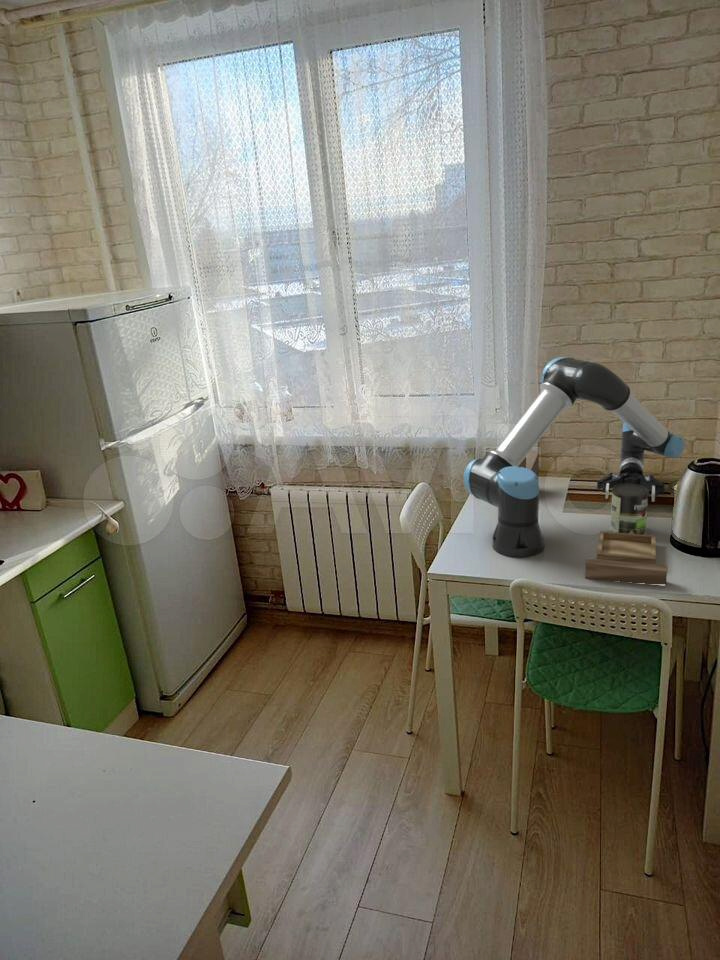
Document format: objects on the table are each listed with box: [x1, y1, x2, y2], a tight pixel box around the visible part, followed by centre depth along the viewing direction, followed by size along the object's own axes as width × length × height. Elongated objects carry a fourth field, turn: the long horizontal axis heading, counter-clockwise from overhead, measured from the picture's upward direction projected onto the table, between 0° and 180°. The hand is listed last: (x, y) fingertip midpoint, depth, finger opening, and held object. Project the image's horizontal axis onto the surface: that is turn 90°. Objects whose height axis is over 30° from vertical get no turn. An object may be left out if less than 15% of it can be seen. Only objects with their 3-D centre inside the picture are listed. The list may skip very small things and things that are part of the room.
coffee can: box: [609, 484, 650, 535], centre depth 213 cm, size 10×10×14 cm
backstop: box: [584, 557, 668, 585], centre depth 188 cm, size 3×20×5 cm, turn 69°
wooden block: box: [518, 450, 540, 478], centre depth 247 cm, size 4×11×18 cm, turn 136°
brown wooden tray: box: [596, 530, 657, 565], centre depth 202 cm, size 15×15×3 cm
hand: (629, 496), depth 221 cm, fingers open, 13 cm apart
